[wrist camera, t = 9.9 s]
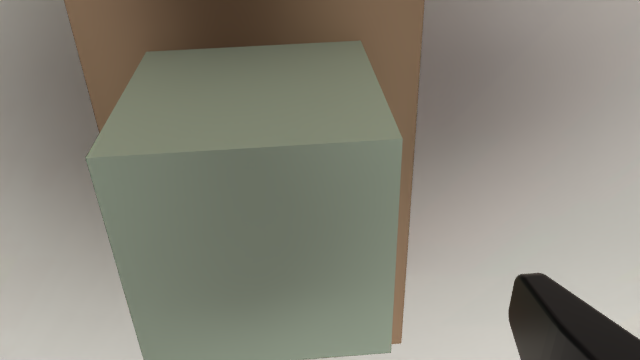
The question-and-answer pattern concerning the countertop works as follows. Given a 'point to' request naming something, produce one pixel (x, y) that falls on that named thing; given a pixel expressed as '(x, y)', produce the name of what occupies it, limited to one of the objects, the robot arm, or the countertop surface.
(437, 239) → the countertop surface
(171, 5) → the walnut base
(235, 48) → the sage block
